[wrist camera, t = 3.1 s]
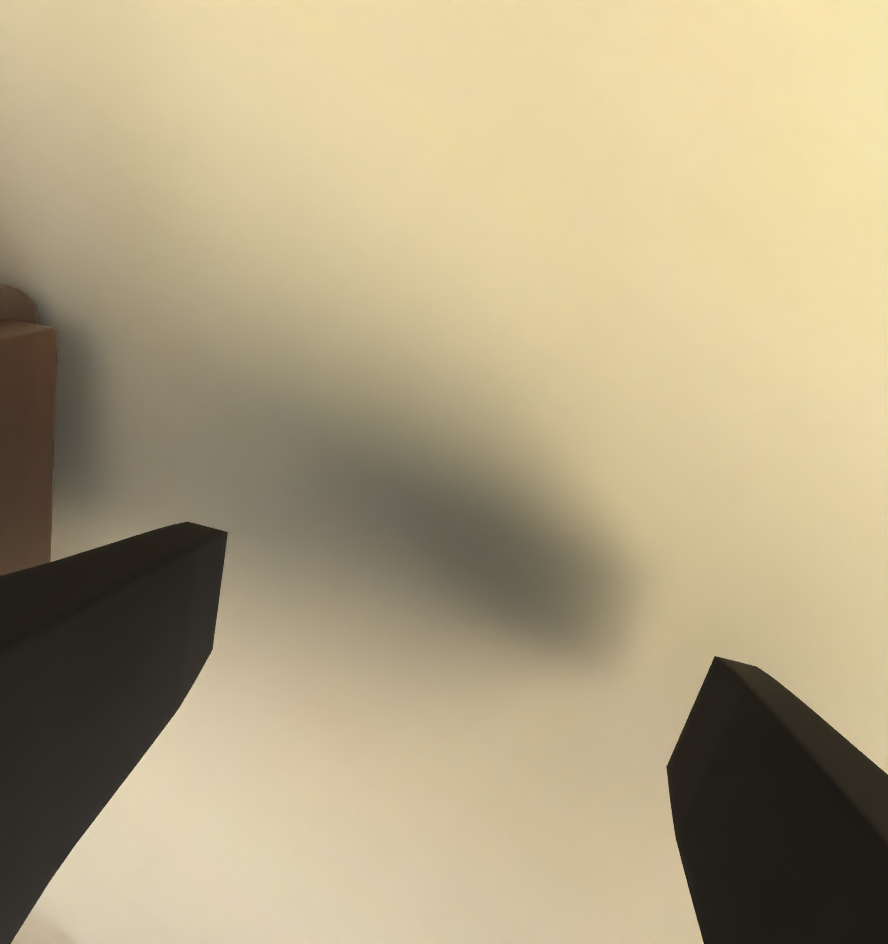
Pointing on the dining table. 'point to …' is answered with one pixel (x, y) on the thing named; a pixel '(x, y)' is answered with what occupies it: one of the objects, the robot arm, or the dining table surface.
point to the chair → (25, 432)
